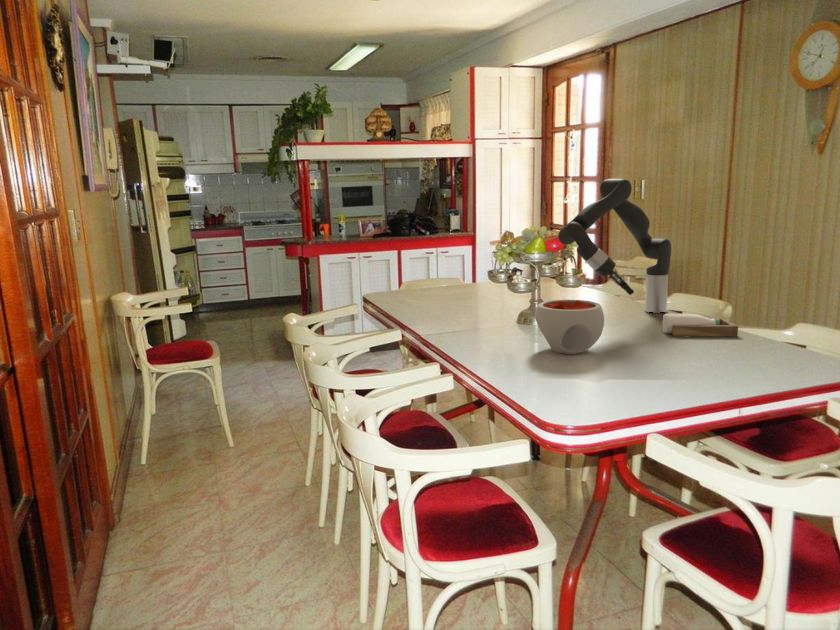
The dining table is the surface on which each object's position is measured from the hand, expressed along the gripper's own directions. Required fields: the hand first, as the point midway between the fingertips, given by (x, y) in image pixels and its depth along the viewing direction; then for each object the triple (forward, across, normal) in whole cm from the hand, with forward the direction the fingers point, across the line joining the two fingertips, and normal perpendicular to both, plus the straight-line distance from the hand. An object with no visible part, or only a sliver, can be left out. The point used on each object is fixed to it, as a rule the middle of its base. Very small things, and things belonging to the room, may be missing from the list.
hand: (632, 293), depth 246 cm
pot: (-8, -30, +30) cm, 43 cm away
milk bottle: (+17, -2, 0) cm, 17 cm away
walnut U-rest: (+29, 0, -6) cm, 29 cm away
